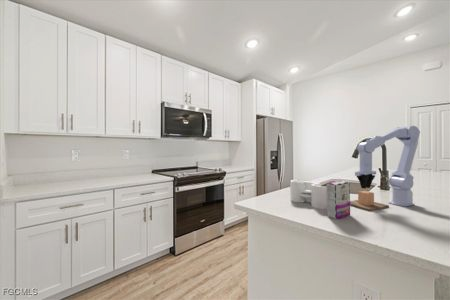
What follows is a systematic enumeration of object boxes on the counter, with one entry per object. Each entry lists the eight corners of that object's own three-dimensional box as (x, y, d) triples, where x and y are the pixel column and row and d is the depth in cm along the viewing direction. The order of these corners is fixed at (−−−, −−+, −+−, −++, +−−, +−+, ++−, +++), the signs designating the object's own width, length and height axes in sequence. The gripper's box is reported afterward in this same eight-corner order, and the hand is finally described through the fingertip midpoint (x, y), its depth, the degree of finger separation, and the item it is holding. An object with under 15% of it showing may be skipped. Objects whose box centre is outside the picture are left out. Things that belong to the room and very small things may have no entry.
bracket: (286, 200, 127) (286, 180, 127) (296, 197, 132) (296, 179, 132) (325, 210, 106) (324, 187, 106) (335, 207, 111) (334, 185, 111)
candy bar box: (340, 212, 102) (340, 180, 102) (350, 215, 98) (350, 181, 97) (326, 216, 97) (326, 182, 97) (336, 219, 93) (335, 184, 92)
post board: (363, 200, 122) (363, 191, 122) (388, 207, 109) (388, 197, 109) (344, 203, 117) (343, 194, 117) (368, 211, 104) (368, 200, 103)
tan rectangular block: (364, 202, 116) (364, 190, 116) (374, 204, 111) (374, 192, 111) (358, 203, 114) (358, 191, 114) (367, 205, 109) (367, 193, 109)
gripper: (363, 164, 106) (363, 190, 106) (382, 163, 111) (381, 188, 112) (351, 163, 113) (351, 188, 113) (368, 162, 118) (368, 185, 118)
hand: (365, 187), depth 113 cm, fingers open, 3 cm apart
